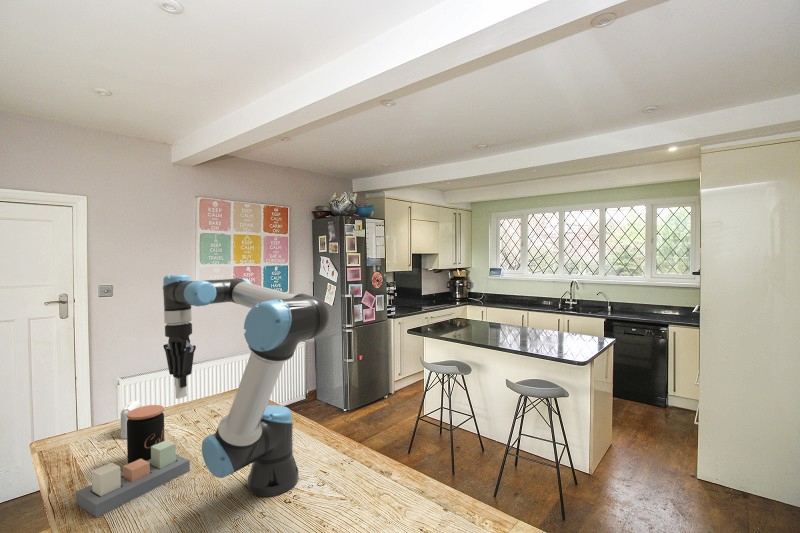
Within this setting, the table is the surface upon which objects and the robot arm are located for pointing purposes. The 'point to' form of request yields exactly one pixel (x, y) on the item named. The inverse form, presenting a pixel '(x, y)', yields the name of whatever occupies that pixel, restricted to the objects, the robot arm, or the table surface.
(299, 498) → the table surface
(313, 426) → the table surface
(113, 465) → the cream button
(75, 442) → the table surface
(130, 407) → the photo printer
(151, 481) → the slate panel
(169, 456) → the sage button
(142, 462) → the terracotta button
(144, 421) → the coffee jar
